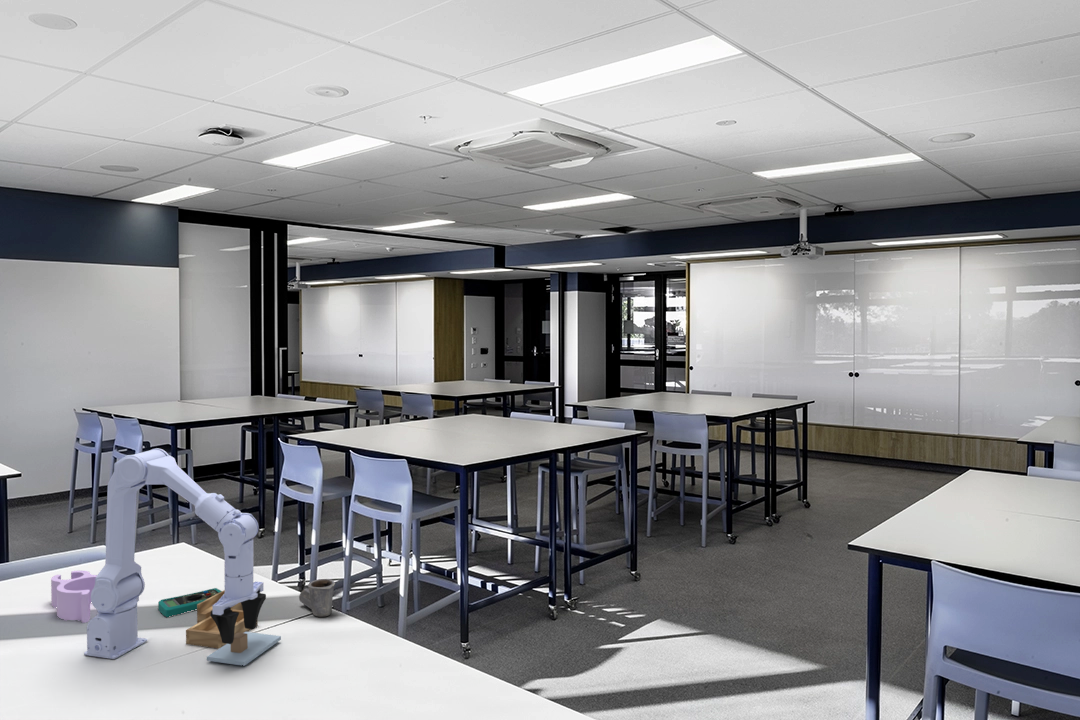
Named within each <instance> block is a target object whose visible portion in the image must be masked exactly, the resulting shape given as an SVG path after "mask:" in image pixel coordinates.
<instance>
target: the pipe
mask: <svg viewBox="0 0 1080 720" xmlns="http://www.w3.org/2000/svg"><path fill="white" fill-rule="evenodd" d="M335 585H336V583H335V581H334V580H333V579H330V578H319V579H318V578H317V579H315V580H312V581H310V582H309V583H308V584H307V587H308V588H303V590H301V592H299V596H298V599H299V602H300V603H301V604H303V605H305V606H306V607H307V608H309V609H310V610H311V612H312V614H313V616H315V617H318V618H320V617H321V618H325V617H328V616H330V615H331V614H332V612H333V598H334V597H333V595H334V589H335Z"/></svg>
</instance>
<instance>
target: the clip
mask: <svg viewBox="0 0 1080 720" xmlns="http://www.w3.org/2000/svg"><path fill="white" fill-rule="evenodd" d="M97 575H98V574H92V573H91V572H90V571H88V570H72V571H71V572H70V579H69V578H68V579H62V575H61V574H55V575H53V576H52V577H50V585H51V586H50V587H51V588H50V589H51V591H50V594H51V595H50V596H51V607H52V606H53V607H52V608H54V607H57V608H56V615H57V616H58V617H59V618H61V619H64V620H63V621H67V620H78V621H81V623H89V621H90V620H91V604H90V603H91V592H92V590H93V588H94V586H95V578H96V576H97ZM58 617H57V618H58ZM59 618H58V619H59ZM61 619H60V620H61Z"/></svg>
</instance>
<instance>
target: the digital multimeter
mask: <svg viewBox="0 0 1080 720" xmlns="http://www.w3.org/2000/svg"><path fill="white" fill-rule="evenodd" d="M222 591H223V590H221V589H219V588H217V587H214V588H210V589H206V590H201V591H195V592H192V593H187V594H183V595H178V596H173V597H168V598H163V599H160V600H159V601H158V605H157V607H158V608H157V609H158V611H159V612H160V613H162V614H161V615H162V616H164V617H165V616H166V617H165V618H170V617H169V616H172V615H176V616H178V615H177V614H180V615H182V614H181V613H184V612H187V611H191V610H195V609H197V604H199V603H201V602H203V601H205V600H206V599H208V598H210V597H212V596H214V595H216V594H218V593H220V592H222ZM184 614H185V613H184ZM172 617H173V616H172Z"/></svg>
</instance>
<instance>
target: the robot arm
mask: <svg viewBox="0 0 1080 720" xmlns="http://www.w3.org/2000/svg"><path fill="white" fill-rule="evenodd" d="M145 485H150V486H151V485H164V486H166V487H168V488H169V489H171V490H172V491H173V492H175V493H176V494H177V495H179V496H180V497H182V498H183V499H185V500H186V501H187V502H188V503H190V504H191V505H193V507H194V514H195V515H196V516H197V517H198V518H199V519H201V520H202V521H203V522H205V523H206V524H207V525H208V526H209V527H211V528H212V529H213V530H214V531H215V532H217V537H218V539H219V541H220V543H221V545H222V546H223V553H224V590H225V593H224V595H223V596H222V597H221V598H220V599H219V600H218V602H217V603H215V604H214V605H213V610H212V611H211V614H210V616H211V617H212V619H213V620H214V621H215V623H216V625H217V627H218V629H219V632H220V636H221V639H222V643H226V644H232V643H233V640H234V631H235V624H236V620H237V617H238V615H239V612H232V610H231V607H233V606H234V605H236V604H238V603H240V602H241V605H242V608H243V615H244V625H245V628H246V629H251V630H255V629H256V627H257V626H256V623H257V619H259V614H260V612H261V608H262V606H263V604H264V603H265V601H266V598H267V595H266V593H262V592H263V591H264V582H263V581H254V538H255V537H256V536H257V534H258V532H259V523H258V520H257V519H256V518H255V517H254V515H253V514H252V513H249V512H241V510H239V509H236V508H235V507H234V506H233V505H231V504H230V503H229V502H227V501H226V500H225V496H223V494H221V493H220V494H217V492H211V493H210V492H209V493H208V492H207V491H205V490H204V489H203V488H202V487H201V486H200V485H199V484H198V483H197V482H195V481H194V479H192V478H191V477H190V476H189V475H188V474H187V473H186V472H185V471H184V470H183V469H182V468H180V466H179V465H178V464H177V462H176V458H175V457H173V456H171V455H169V454H168V452H167V451H165V450H164V449H162V448H157V447H156V448H152V449H150V450H146V451H142V452H139V453H136V454H128V455H125V456H123V457H121V458H120V459H119V460H117V461H116V462H114V465H113V473H112V474H111V477H110V479H109V480H108V483H107V491H106V492H107V495H106V496H107V498H106V530H105V531H106V532H105V533H106V534H105V559H104V560H105V564H104V566H103V567H102V568H101V570H99V572H98V574H96V575H97V576H96V578H95V586H94V588H93V590H92V592H91V602H92V606H93V608H94V609H95V610H96V611H97V614H96V615H95V616H93V617H92V618H90V620H89V621H88V622H87V626H86V651H84V652H83V655H84V656H90V657H97V658H102V659H103V658H104V659H112V660H115V659H118V658H119V657H122V656H123V655H125V654H126V653H128V652H130V651H132V650H134V649H135V648H137V647H140V646H141V645H143V644H145V643H146V642H147V641H148V638H144V637H139V636H138V635H139V633H138V631H139V629H138V603H139V601H140V598H139V597H140V596H141V595H142V594H143V593H144V590H145V585H146V584H145V580H144V577H143V575H142V565H140V564H138V563H137V562H136V561H135V556H136V555H135V552H136V548H135V547H136V545H135V544H136V522H137V521H136V519H137V515H136V514H137V493H138V491H139V490H140V489H142V488H143V487H144V486H145Z"/></svg>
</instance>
